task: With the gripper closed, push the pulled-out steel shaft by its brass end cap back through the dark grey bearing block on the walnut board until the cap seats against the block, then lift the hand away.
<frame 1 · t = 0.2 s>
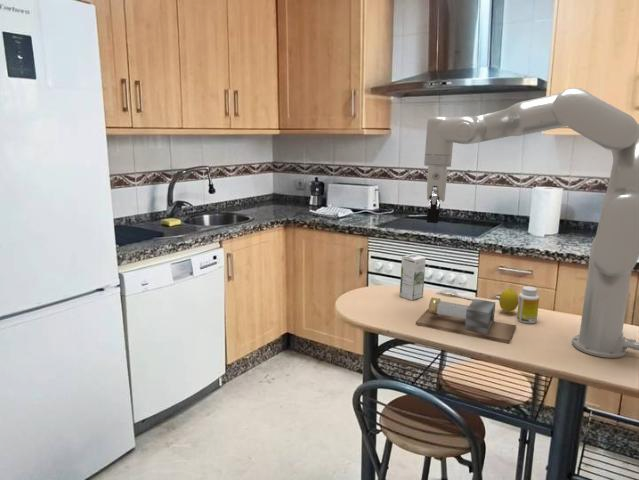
hand: (433, 219, 145), 30 cm above the table, tool pointing down, fingers open, 9 cm apart
shaft: (452, 309, 145), point 4 cm above the table, slide at 0.0 cm
lemon: (507, 313, 155), on the table
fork: (464, 299, 168), on the table
syrup box: (411, 297, 169), on the table
supplement bottle: (526, 321, 149), on the table
bearing stand: (465, 326, 144), on the table
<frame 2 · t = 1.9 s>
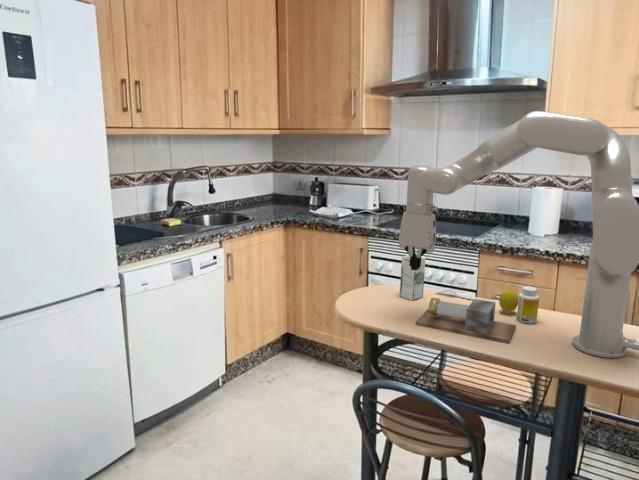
hand: (414, 269, 148), 15 cm above the table, tool pointing down, fingers closed
nothing on the table moved.
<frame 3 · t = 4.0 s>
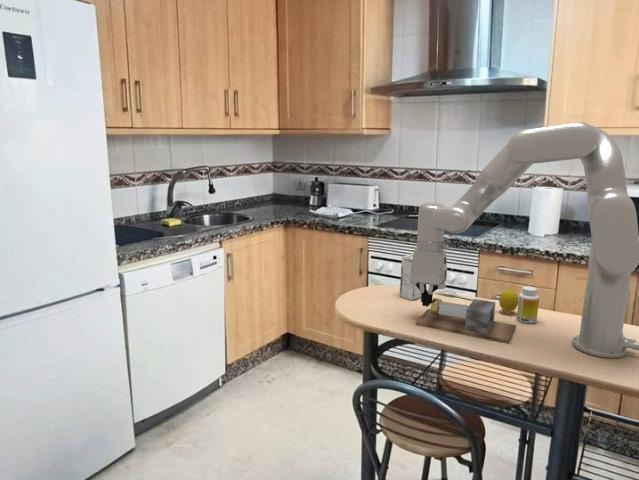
hand: (426, 304, 148), 4 cm above the table, tool pointing down, fingers closed
shaft: (453, 309, 145), point 4 cm above the table, slide at 0.5 cm, touching gripper
everything else where it was.
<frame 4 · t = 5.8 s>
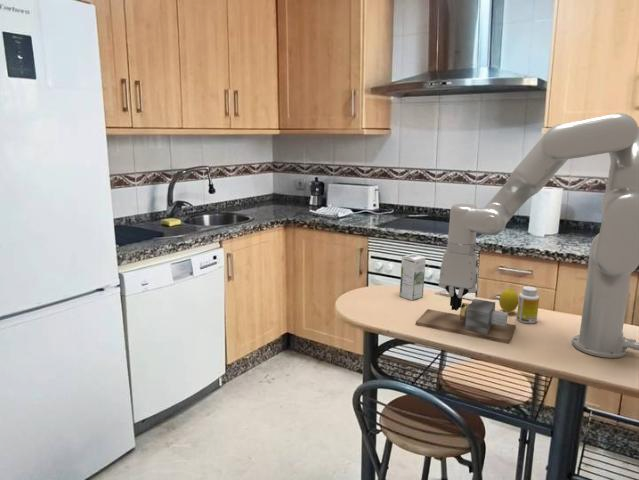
hand: (455, 308, 144), 5 cm above the table, tool pointing down, fingers closed
shaft: (483, 315, 141), point 4 cm above the table, slide at 9.1 cm, touching gripper
everything else where it was.
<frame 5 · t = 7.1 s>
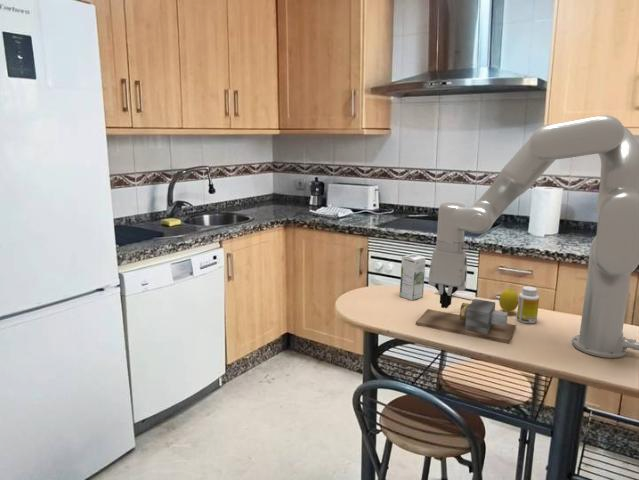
hand: (445, 306, 146), 5 cm above the table, tool pointing down, fingers closed
shaft: (483, 315, 141), point 4 cm above the table, slide at 9.0 cm
everything else where it was.
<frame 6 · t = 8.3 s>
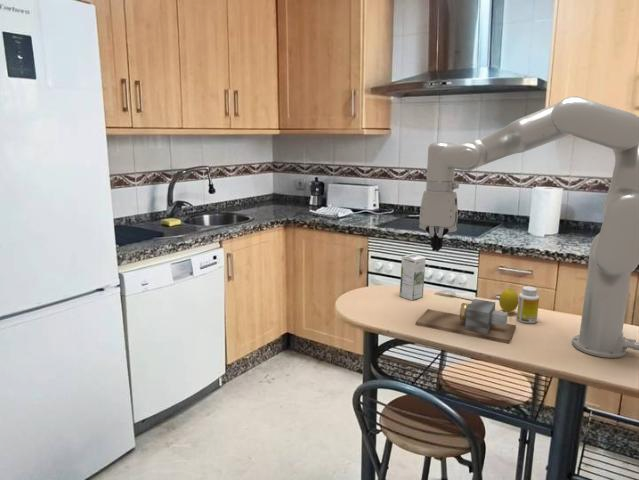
hand: (436, 249, 144), 22 cm above the table, tool pointing down, fingers closed
nothing on the table moved.
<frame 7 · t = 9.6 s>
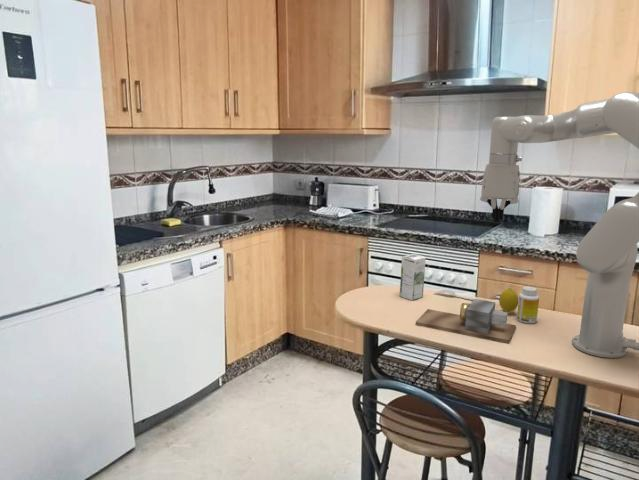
hand: (497, 221, 148), 29 cm above the table, tool pointing down, fingers closed
nothing on the table moved.
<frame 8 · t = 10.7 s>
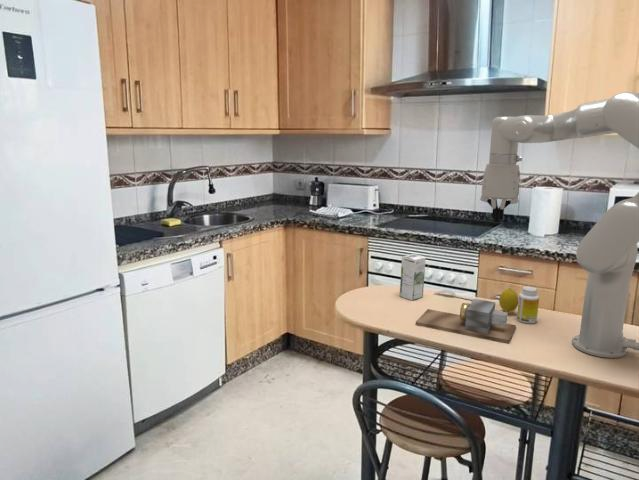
hand: (497, 221, 148), 29 cm above the table, tool pointing down, fingers closed
nothing on the table moved.
at the end: shaft slide at 9.0 cm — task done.
